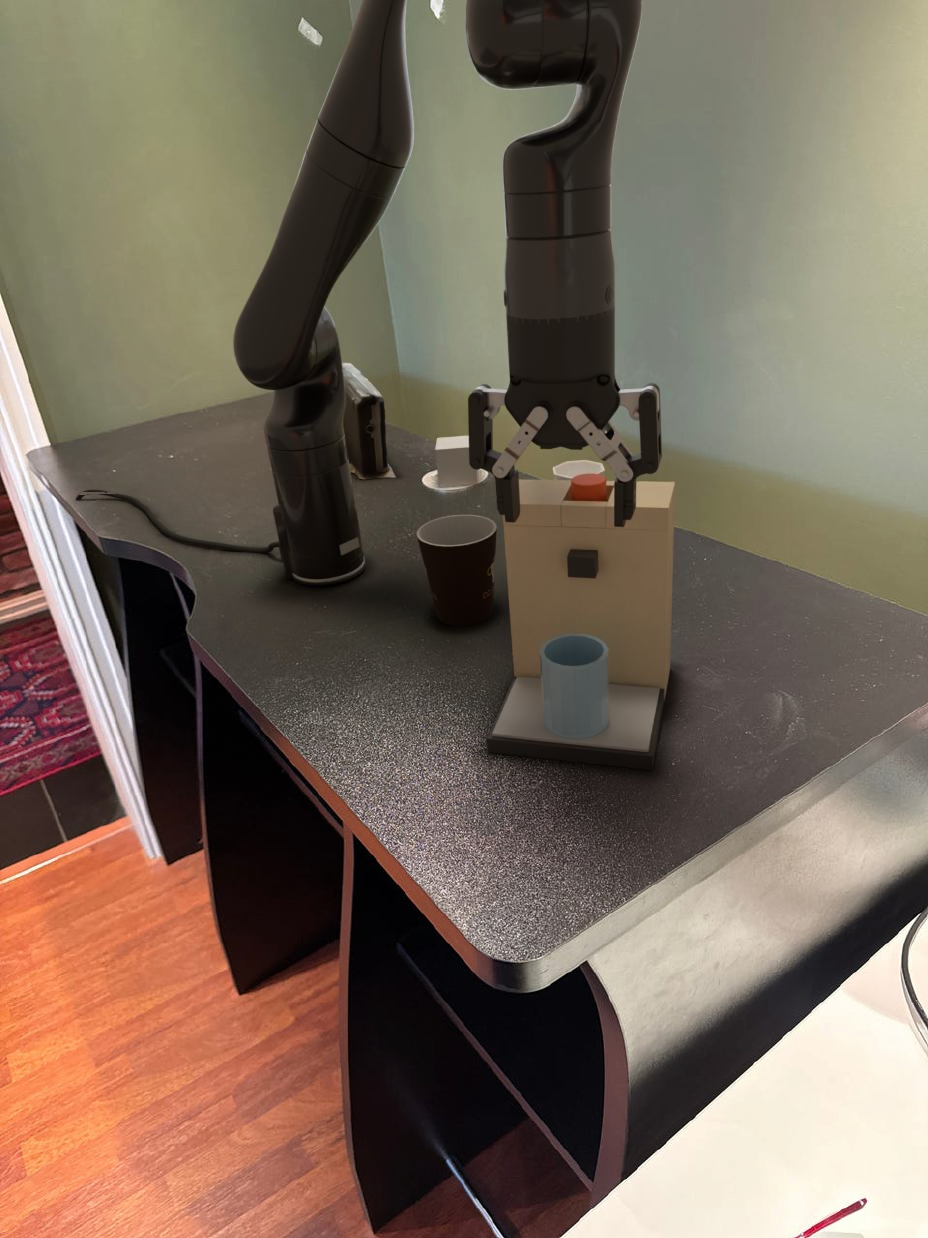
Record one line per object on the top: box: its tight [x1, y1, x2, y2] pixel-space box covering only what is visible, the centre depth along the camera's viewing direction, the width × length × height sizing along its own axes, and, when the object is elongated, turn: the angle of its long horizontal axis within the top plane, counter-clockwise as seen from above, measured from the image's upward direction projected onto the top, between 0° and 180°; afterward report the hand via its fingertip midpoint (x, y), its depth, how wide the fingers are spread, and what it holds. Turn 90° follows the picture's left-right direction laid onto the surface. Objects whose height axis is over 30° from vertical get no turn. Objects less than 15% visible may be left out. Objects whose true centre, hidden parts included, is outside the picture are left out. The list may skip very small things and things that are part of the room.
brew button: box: [571, 474, 607, 502], centre depth 76 cm, size 3×3×2 cm
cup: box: [552, 459, 606, 480], centre depth 116 cm, size 7×10×8 cm
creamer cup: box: [539, 633, 609, 739], centre depth 75 cm, size 6×6×7 cm
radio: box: [342, 362, 397, 480], centre depth 148 cm, size 23×9×15 cm, turn 12°
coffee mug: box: [416, 514, 498, 627], centre depth 98 cm, size 12×9×10 cm
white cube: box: [434, 435, 479, 488], centre depth 137 cm, size 6×6×6 cm
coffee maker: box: [486, 479, 676, 771], centre depth 76 cm, size 14×16×19 cm
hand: (565, 521), depth 69 cm, fingers open, 8 cm apart
